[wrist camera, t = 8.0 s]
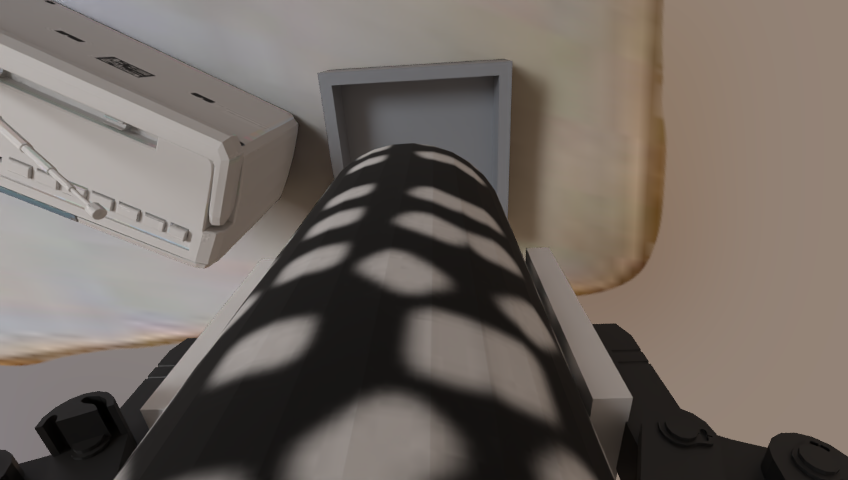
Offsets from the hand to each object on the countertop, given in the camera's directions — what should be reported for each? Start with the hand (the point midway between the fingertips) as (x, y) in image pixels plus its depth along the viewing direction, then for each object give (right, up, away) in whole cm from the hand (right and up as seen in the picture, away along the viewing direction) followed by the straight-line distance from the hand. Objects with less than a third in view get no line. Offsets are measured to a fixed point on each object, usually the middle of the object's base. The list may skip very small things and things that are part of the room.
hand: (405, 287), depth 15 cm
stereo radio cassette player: (-19, +12, +17) cm, 28 cm away
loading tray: (0, +9, +18) cm, 20 cm away
